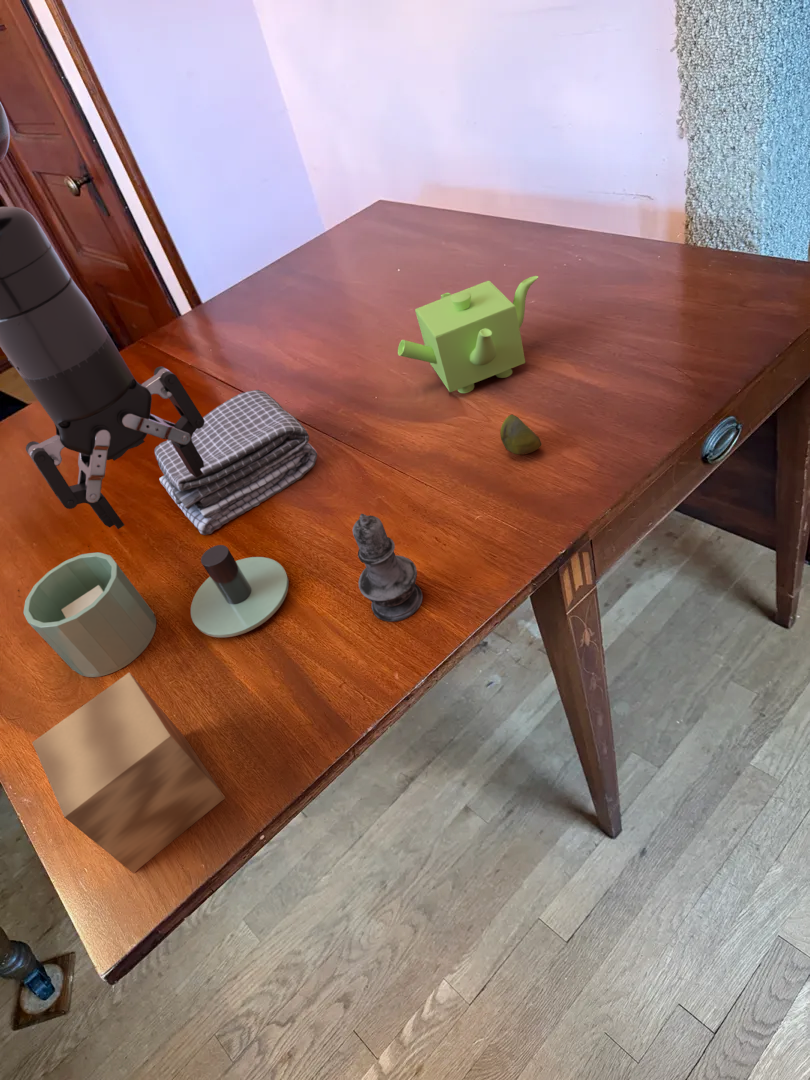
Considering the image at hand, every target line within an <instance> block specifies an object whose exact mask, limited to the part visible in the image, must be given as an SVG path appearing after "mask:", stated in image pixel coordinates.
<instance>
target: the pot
mask: <svg viewBox="0 0 810 1080" xmlns="http://www.w3.org/2000/svg"><path fill="white" fill-rule="evenodd" d="M98 585H99V586H100V587H101V588H102V589H103V593H102V594H101V595H100V596H99V597H98V598H97V599H96V600H95V601H94V602H93V603H92V604H91V605H89V606H88V607H86V608H85V609H83V610H82V611H80V612H79V613H78V614H76V615H73V616H71V617H68V618H65V616H64V614H63V612H62V610H61V609H63V608H64V607H66V606H67V605H69V604H70V603H72V602H73V601H75V600H77V599H78V598H80V597H81V596H83V595H84V594H86V593H87V592H89V591H90V590H92V589H93V588H95V587H96V586H98ZM23 615H24V616H23V617H25V620H26V622H27V623H28V625H30V626H31V628H32V629H33V630H34V631H35V632H36V633H37V634H38V635H39V636H40V637H41V638H42V639H43V640H44V642H45V643H46V644H48V645H49V647H50V648H51V649H52V650H53V651H54V652H55V653H56V654H57V655H58V657H60V658H61V659H62V660H63V662H64V663H65V664H66V665H67V666H68V667H69V668H70V669H71V670H72V671H74V672H75V673H76V674H78V675H80V676H82V677H86V678H99V677H105V676H108V675H111V674H114V673H115V672H118V671H120V670H121V669H123V668H125V667H126V666H128V665H130V664H131V663H132V662H134V661H135V660H136V659H137V658H138V657H139V656H140V655H141V654H142V653H143V652H144V651H145V650H146V649H147V647H148V646H149V644H150V643H151V641H152V639H153V637H154V635H155V632H156V629H157V617H156V614H155V612H154V611H153V610H152V608H151V607H150V606H149V604H148V603H147V601H146V600H145V599H144V598H143V596H142V595H141V594H140V592H139V591H138V590H137V588H136V587H135V585H134V584H133V583H132V582H131V580H130V579H129V577H128V576H127V575H126V574H125V572H124V571H123V570H122V568H121V567H120V565H118V563H117V562H116V560H115V559H114V558H113V557H112V555H110V554H106V553H103V552H100V551H99V552H88V553H81V554H79V555H77V556H74V557H72V558H68V559H67V560H65V561H63V562H61V563H60V564H58V565H57V566H55V567H53V568H52V569H51V570H50V569H49V571H47V572H46V573H45V574H44V575H43V576H42V577H41V578H40V579H39V580H38V581H37V582H36V583H35V584H34V585H33V587H32V588H31V590H30V592H29V593H28V595H27V597H26V598H25V601H24V607H23Z"/></svg>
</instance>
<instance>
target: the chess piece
mask: <svg viewBox="0 0 810 1080" xmlns="http://www.w3.org/2000/svg"><path fill="white" fill-rule="evenodd" d="M358 518H359V519H356V521H355V523H354V524H353V526H352V535H353V537H354V540H355V542H356V544H357V547H358V552H357V557H358V559H359V561H360V562H361V563H363V564H364V565H365V568H364V569H363V570H362V572H361V574H359V578H358V589H359V591H360V593H361V595H362V596H364V598H366V599H368V600H369V602H371V604H370V605H371V611H372V613H373V615H374V616H375V617H376V618H377V619H379V620H381V621H384V622H388V623H393V622H400V621H404V620H405V619H407V618H410V617H411V616H413V615H414V614H415V613H416V612H417V611H418V610H419V608H420V607H421V605H422V603H423V598H424V597H423V596H424V595H423V591H422V589H421V587H420V586H419V585H418V584H417V583H416V582H417V577H418V570H417V566H416V564H415V563H414V561H412V560H411V559H410V558H409V557H407V556H403V555H397V554H396V552H395V548H396V544H395V542H394V540H393V539H392V538H391V537H389V536H388V535H387V534H388V533H387V532H386V530H385V527H384V525H383V522H382V520H381V519H380V518H379V517H377V516H375V515H366V514H365V513H360V515H359V517H358Z"/></svg>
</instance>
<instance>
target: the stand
mask: <svg viewBox="0 0 810 1080" xmlns="http://www.w3.org/2000/svg"><path fill="white" fill-rule="evenodd" d="M31 744H32V746H33V748H34V750H35V753H36V756H37V758H38V759H39V762H40V764H41V767H42V768H43V771H44V774H45V776H46V778H47V780H48V782H49V784H50V787H51V789H52V792H53V795H54V797H55V799H56V801H57V803H58V806H59V808H60V811H61V813H62V815H63V817H64V819H66V820H67V821H68V822H69V823H71V824H72V825H73V826H75V828H77V829H78V830H79V831H81V832H82V833H83V834H84V835H85V836H87V837H88V838H89V839H91V840H92V841H93V842H94V843H96V844H97V846H99V847H100V848H102V849H103V850H104V851H105V852H107V854H109V855H110V856H111V857H113V858H114V859H115V860H116V861H117V862H119V863H120V864H121V865H122V866H124V867H125V868H126V869H127V870H128V871H130V872H131V873H132V874H135V873H136V872H137V871H138V870H140V868H142V867H143V866H144V865H146V864H147V863H148V862H149V861H151V860H152V859H153V858H154V857H155V856H156V855H158V854H159V853H160V852H161V851H162V850H164V849H165V848H166V847H168V846H169V845H170V844H171V843H172V842H173V841H175V840H176V839H177V838H178V837H179V836H181V835H182V834H184V833H185V832H186V831H187V830H188V829H189V828H191V827H192V826H193V825H194V824H195V823H197V822H198V821H199V820H201V819H202V818H203V817H204V816H205V815H206V814H208V813H209V812H211V810H212V809H214V808H215V807H216V806H217V805H219V804H220V803H221V802H222V801H224V800H225V799H226V796H225V794H224V793H223V792H222V791H221V789H220V788H219V787H220V786H218V785H217V783H216V781H215V780H214V779H213V777H212V775H211V774H210V773H209V771H208V770H207V768H206V766H205V765H204V763H203V762H202V760H201V759H200V757H199V756H198V754H197V753H196V752H195V750H194V748H193V747H192V746H191V743H189V741H188V740H187V738H186V737H185V735H184V734H183V732H181V730H180V729H179V728H178V727H177V726H176V724H175V723H174V722H173V721H172V719H170V717H169V716H168V715H167V714H166V713H165V712H164V710H163V709H162V708H161V706H159V705H158V704H157V702H156V701H155V700H154V699H153V698H152V696H150V694H149V693H148V692H147V691H146V690H145V689H144V687H143V686H142V685H141V684H140V682H139V681H138V680H137V679H136V678H135V677H134V675H132V673H131V672H127V673H126V674H125V675H123V676H122V677H120V678H119V679H117V680H116V681H115V682H113V683H112V684H111V685H109V686H108V687H107V688H105V689H104V690H102V691H101V692H99V693H98V694H97V695H95V696H94V697H92V698H91V699H90V700H88V701H87V702H86V703H84V704H83V705H81V706H80V707H79V708H78V709H75V710H74V711H73V712H72V713H71V714H69V715H68V716H66V717H65V718H63V719H62V720H61V721H60V722H58V723H57V724H55V725H54V726H52V727H51V728H50V729H49V730H47V731H46V732H44V733H43V734H42V735H40V736H39V737H37V738H36V739H35V740H33V741H32V743H31Z"/></svg>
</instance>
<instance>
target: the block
mask: <svg viewBox="0 0 810 1080" xmlns="http://www.w3.org/2000/svg"><path fill="white" fill-rule="evenodd" d="M102 593H103V589H102V588H101V587H100V586H99V585H98V586H96V587H95V588H93V589H92V590H90V591H89V592H87V593H86V594H84V595H83V596H81V597H80V598H78V599H77V600H75V601H73V602H72V603H70V604H69V605H67V606H66V607H64V608H63V609H61V610H62V612H63V614H64V616H65V618H68V617H71V616H73V615H76V614H78V613H79V612H80V611H82V610H83V609H85V608H86V607H88V606H89V605H91V604H92V603H93V602H94V601H95V600H96V599H97V598H98V597H99V596H100V595H101V594H102Z"/></svg>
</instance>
